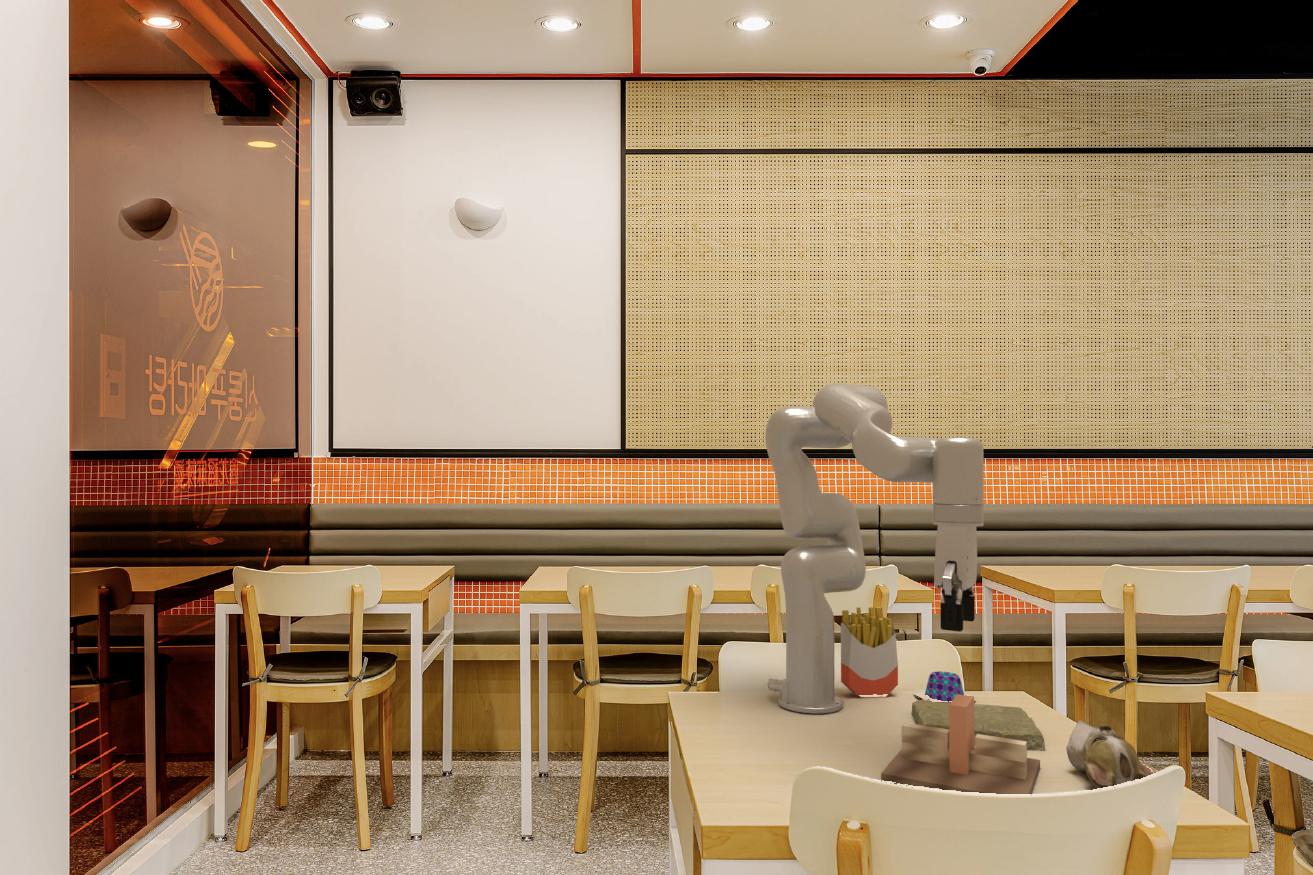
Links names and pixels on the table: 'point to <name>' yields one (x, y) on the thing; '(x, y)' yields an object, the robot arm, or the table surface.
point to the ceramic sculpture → (1104, 756)
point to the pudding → (943, 686)
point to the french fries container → (868, 653)
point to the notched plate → (961, 733)
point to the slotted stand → (990, 763)
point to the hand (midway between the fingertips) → (958, 625)
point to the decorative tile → (984, 721)
